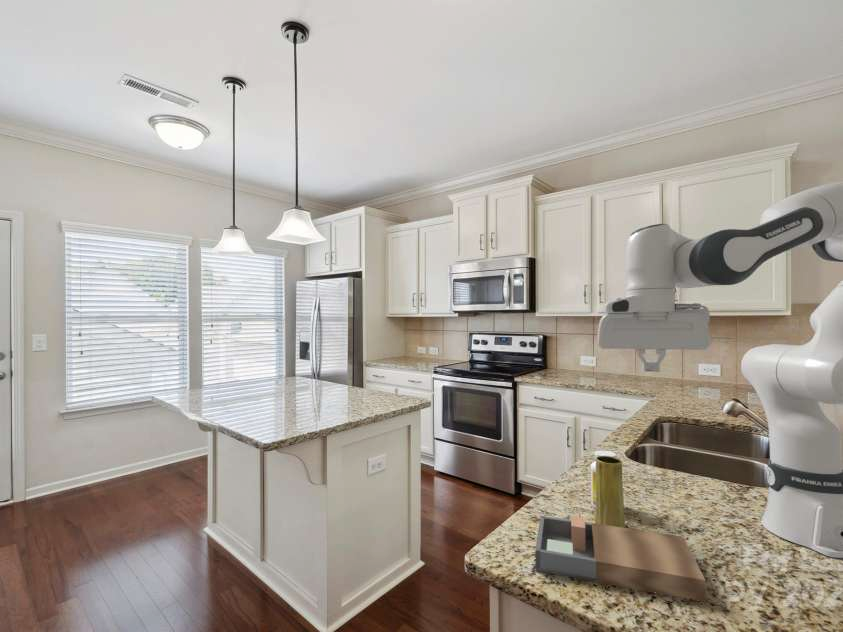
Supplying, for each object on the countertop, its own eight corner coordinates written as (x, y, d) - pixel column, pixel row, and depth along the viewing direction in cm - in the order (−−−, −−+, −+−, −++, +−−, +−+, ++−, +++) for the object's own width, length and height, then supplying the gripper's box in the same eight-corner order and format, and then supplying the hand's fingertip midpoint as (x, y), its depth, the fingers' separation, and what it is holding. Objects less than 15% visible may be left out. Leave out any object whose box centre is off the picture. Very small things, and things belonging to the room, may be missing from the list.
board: (682, 554, 78) (682, 536, 78) (705, 602, 65) (705, 580, 65) (591, 540, 84) (591, 523, 84) (596, 581, 70) (595, 561, 70)
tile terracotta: (584, 517, 83) (571, 515, 84) (585, 528, 79) (571, 525, 80) (584, 539, 83) (571, 537, 84) (585, 551, 79) (571, 549, 80)
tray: (591, 540, 84) (591, 523, 84) (596, 581, 70) (595, 561, 70) (540, 532, 87) (540, 515, 87) (535, 570, 74) (535, 550, 74)
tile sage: (547, 539, 79) (547, 552, 79) (546, 551, 74) (546, 565, 74) (572, 543, 77) (572, 556, 77) (572, 556, 73) (573, 570, 73)
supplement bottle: (625, 515, 94) (624, 458, 94) (594, 512, 96) (593, 457, 96) (617, 502, 101) (616, 449, 101) (588, 500, 102) (587, 448, 102)
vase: (612, 535, 86) (611, 466, 86) (588, 522, 91) (587, 457, 91) (631, 527, 88) (630, 461, 89) (607, 516, 94) (606, 453, 94)
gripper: (704, 303, 84) (705, 371, 84) (596, 305, 91) (597, 368, 91) (714, 302, 78) (715, 375, 78) (597, 304, 85) (598, 371, 85)
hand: (651, 371), depth 85 cm, fingers closed
